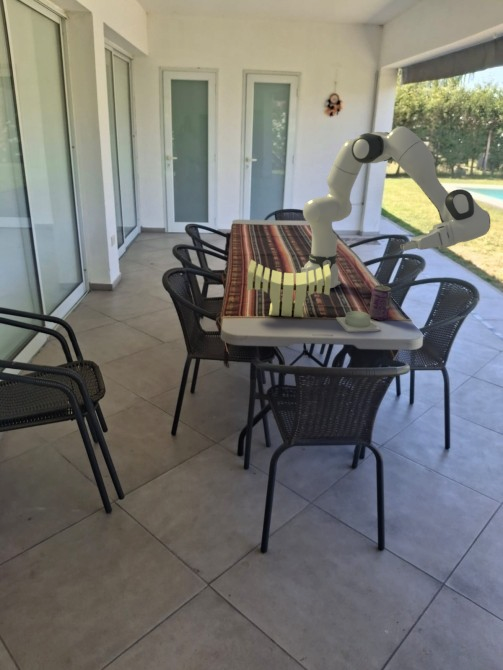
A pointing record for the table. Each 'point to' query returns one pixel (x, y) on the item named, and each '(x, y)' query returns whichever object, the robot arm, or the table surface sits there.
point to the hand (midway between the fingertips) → (401, 248)
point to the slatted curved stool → (288, 287)
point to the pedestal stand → (357, 322)
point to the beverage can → (380, 302)
